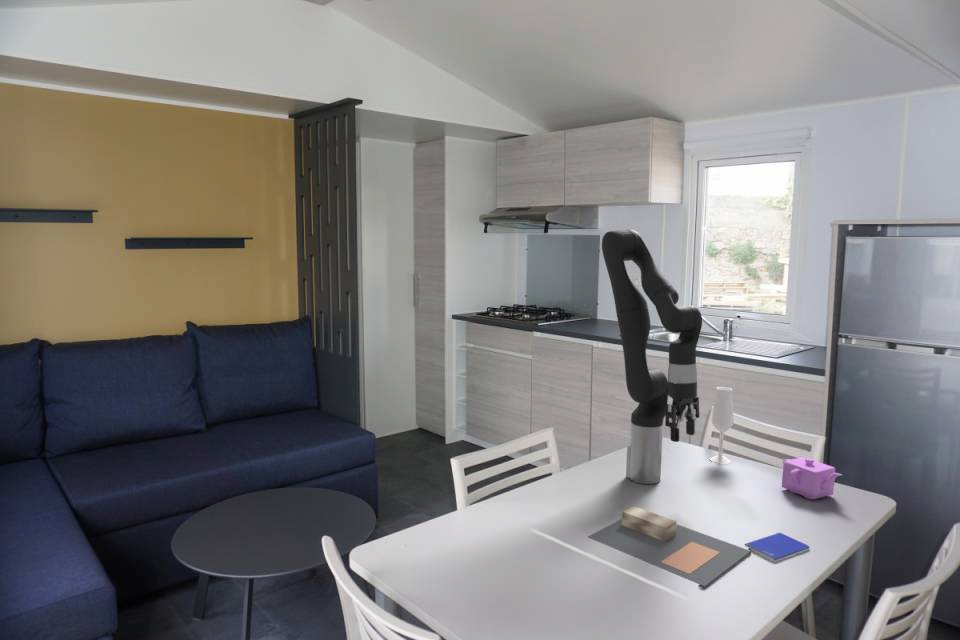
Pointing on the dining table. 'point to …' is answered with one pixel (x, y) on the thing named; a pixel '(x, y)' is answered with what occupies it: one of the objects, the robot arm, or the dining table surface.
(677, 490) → the dining table surface
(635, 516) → the cream block
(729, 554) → the rubber mat
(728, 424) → the champagne flute
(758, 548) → the hard drive
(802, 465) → the teapot
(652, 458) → the robot arm
